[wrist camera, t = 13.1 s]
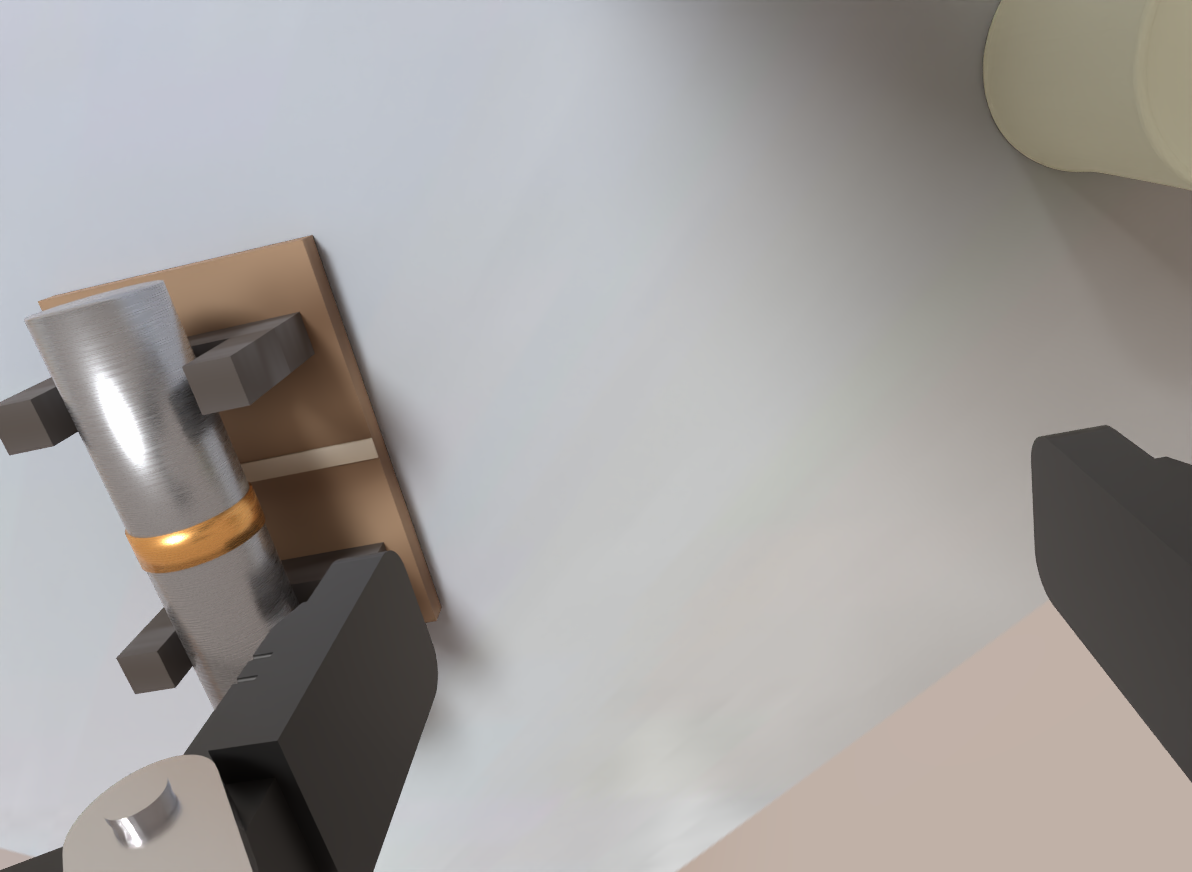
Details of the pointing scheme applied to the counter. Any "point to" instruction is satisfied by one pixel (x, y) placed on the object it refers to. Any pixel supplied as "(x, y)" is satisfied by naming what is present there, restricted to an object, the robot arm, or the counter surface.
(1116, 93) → the can
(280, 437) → the cradle stand
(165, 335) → the tube
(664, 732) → the counter surface
